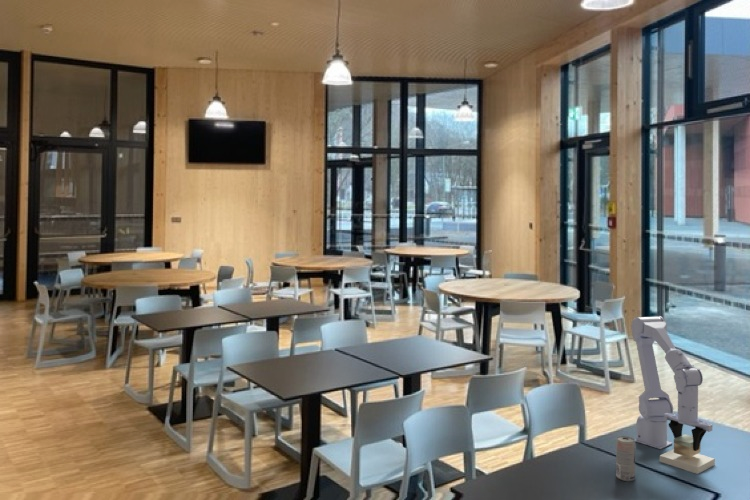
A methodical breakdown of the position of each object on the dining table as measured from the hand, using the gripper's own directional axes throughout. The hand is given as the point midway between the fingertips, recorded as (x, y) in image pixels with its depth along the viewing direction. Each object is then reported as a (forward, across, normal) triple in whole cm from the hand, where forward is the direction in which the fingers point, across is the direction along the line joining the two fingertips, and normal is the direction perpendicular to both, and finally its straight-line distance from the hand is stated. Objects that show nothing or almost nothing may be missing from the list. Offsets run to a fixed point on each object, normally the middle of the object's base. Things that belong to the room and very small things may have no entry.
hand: (687, 447), depth 195 cm
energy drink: (+5, -6, -25) cm, 26 cm away
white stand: (+5, 0, 0) cm, 5 cm away
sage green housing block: (+2, 0, 0) cm, 2 cm away
